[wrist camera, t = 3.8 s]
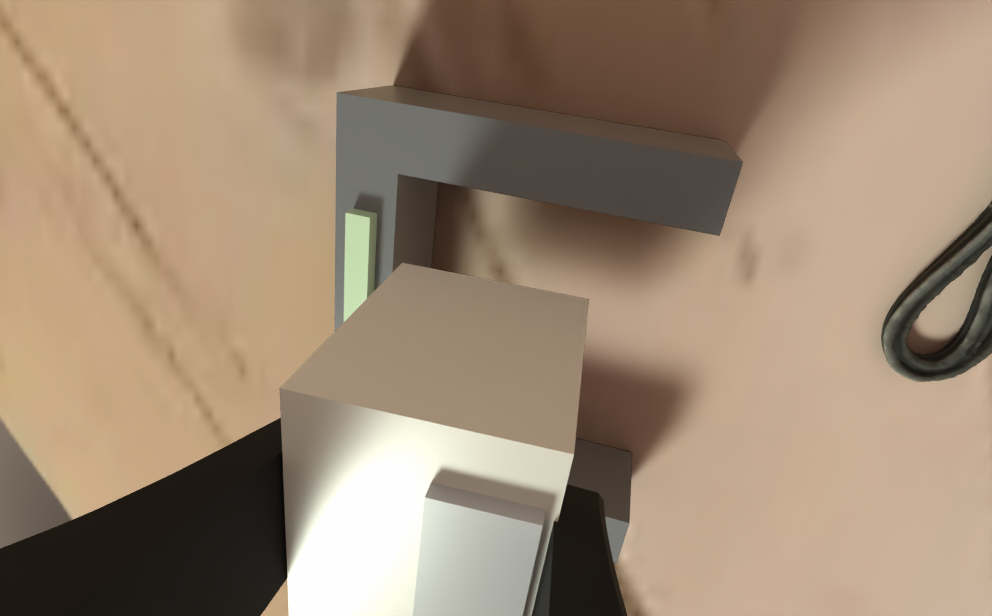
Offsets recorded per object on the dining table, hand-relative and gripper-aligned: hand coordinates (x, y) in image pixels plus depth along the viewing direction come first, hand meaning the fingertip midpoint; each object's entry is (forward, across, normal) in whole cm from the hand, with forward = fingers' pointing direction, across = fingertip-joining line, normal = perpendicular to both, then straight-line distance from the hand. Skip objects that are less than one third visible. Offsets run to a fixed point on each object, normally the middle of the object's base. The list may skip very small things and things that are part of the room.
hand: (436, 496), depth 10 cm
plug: (+4, 0, 0) cm, 4 cm away
